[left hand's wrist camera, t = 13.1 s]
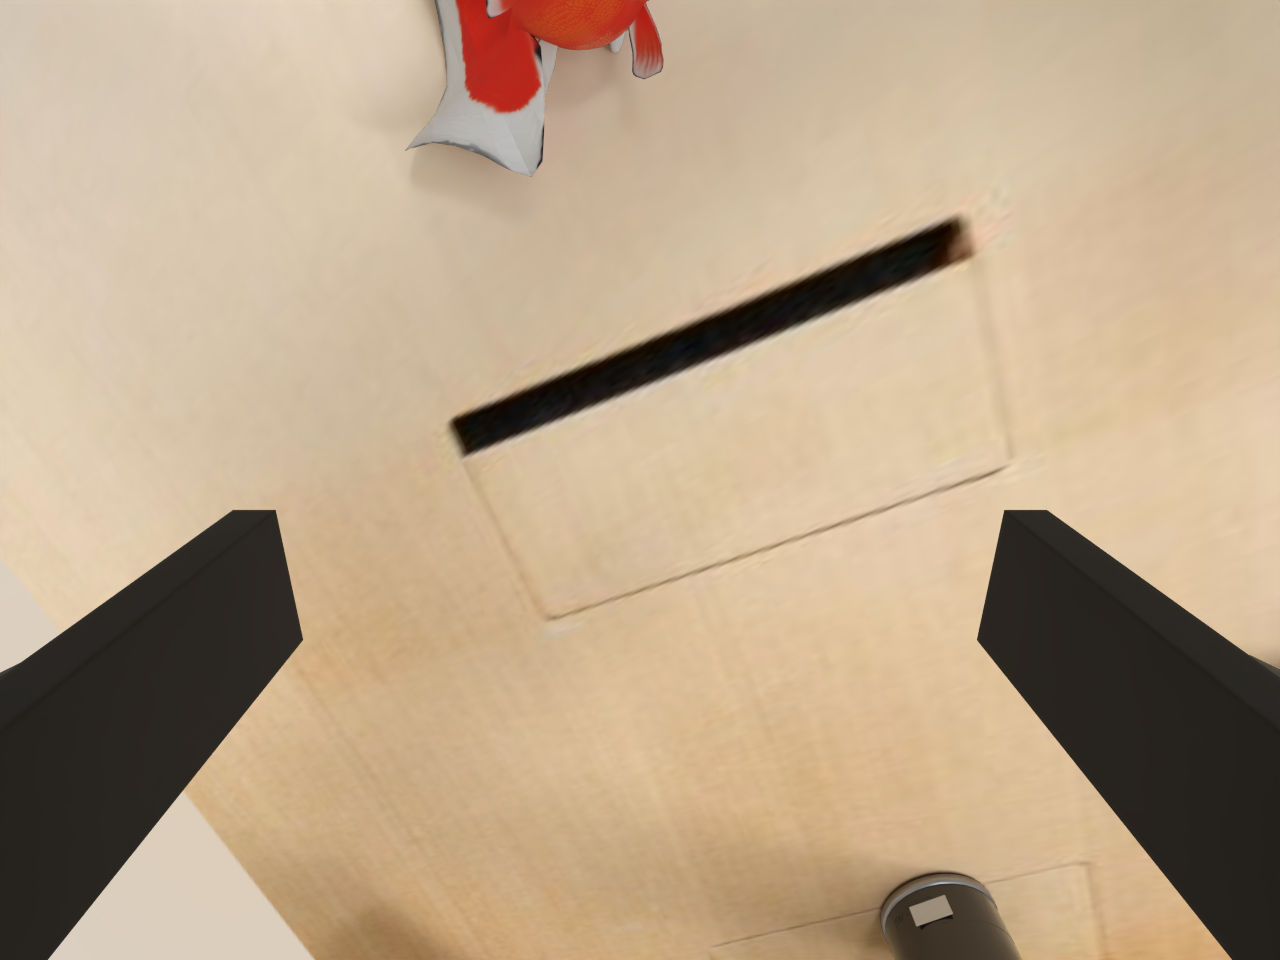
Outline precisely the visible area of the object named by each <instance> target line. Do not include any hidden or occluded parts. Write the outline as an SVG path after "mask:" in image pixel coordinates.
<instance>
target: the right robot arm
mask: <svg viewBox="0 0 1280 960" xmlns="http://www.w3.org/2000/svg"><path fill="white" fill-rule="evenodd" d="M880 921H881V927H882V930H883V933H884V936H885V938H886V940H887V942H888V944H889V946H890V949H891V952H892V955H893V958H894V960H1022V958H1021V956H1020V954H1019V952H1018V950H1017V948H1016V946H1015V944H1014V942H1013V940H1012V938H1011V936H1010V934H1009V932H1008V930H1007V928H1006V926H1005V924H1004V922H1003V920H1002V919H1001V917H1000V915H999V913H998V910H997V906H996V904H995V902H994V900H993V898H992V896H991V895H990V893H989V891H988V890H987V889H986V888H985V887H984V886H983V885H982V884H980V883H979V882H977V881H975V880H973V879H971V878H968V877H965V876H961V875H955V874H936V875H930V876H925V877H922V878H919V879H916V880H913V881H911V882H909V883H907V884H905V885H904V886H902V887H901V888H899V889H898V890H897V891H895V892H894V893H893V894H892V895H891V896H890V897H889V898H888V900H887V901H886V903H885V904H884V906H883V909H882V912H881V917H880Z"/></svg>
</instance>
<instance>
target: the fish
mask: <svg viewBox="0 0 1280 960" xmlns="http://www.w3.org/2000/svg"><path fill="white" fill-rule="evenodd" d="M646 1H648V0H435V4H436V8H437V13H438V18H439V24H440V29H441V34H442V40H443V45H444V51H445V63H446V75H447V87H446V90H445V92H444V95H443V97H442V100H441V102H440V104H439V107H438V109H437V111H436V113H435V115H434V116H433V118H432V119H431V121H430V122H429V123H428V125H427V126H426V127H425V128H424V129H423V130H422V131H421V132H420V133H419V134H418V135H417V136H416V138H415V139H414V140H413V141H412V143H411V144H410V145H409V147H408V148H407V149H406V150H408V149H410V148H414V147H418V146H421V145H425V144H429V143H439V144H447V145H454V146H458V147H460V148H463V149H466V150H469V151H472V152H475V153H478V154H481V155H483V156H485V157H487V158H489V159H490V160H492V161H494V162H496V163H498V164H499V165H501V166H503V167H505V168H507V169H509V170H512V171H515V172H518V173H521V174H524V175H527V176H530V177H532V175H533V174H534V172H535V171H536V169H537V168H538V167H539V165H540V164H541V162H542V158H543V138H544V110H545V102H544V95H546V93H547V89H548V86H549V83H550V80H551V77H552V74H553V70H554V66H555V60H556V54H557V50H558V47H562V48H565V49H570V50H586V49H594V48H599V47H602V46H605V45H607V44H609V46H610V48H611V50H612V52H613V53H617V52H618V51H619V50H620V48H621V46H622V43H623V40H624V37H625V33H626V30H627V29H629V36H630V41H631V47H632V52H633V67H632V71H633V74H634V75H635V76H636V77H639V78H642V79H646V78H648V77H651V76H653V75H655V74H657V73H659V72H661V70H662V68H663V55H662V48H661V40H660V37H659V34H658V31H657V28H656V26H655V23H654V21H653V19H652V16H651V14H650V12H649V10H648V8H647V5H646ZM535 37H536V38H538V39H539V40H538V42H537V40H536V39H535ZM406 150H405V151H406Z"/></svg>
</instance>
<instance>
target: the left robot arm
mask: <svg viewBox="0 0 1280 960" xmlns="http://www.w3.org/2000/svg"><path fill="white" fill-rule="evenodd" d="M302 641H303V637H302V633H301V628H300V623H299V618H298V614H297V609H296V604H295V600H294V595H293V590H292V585H291V581H290V576H289V571H288V566H287V562H286V557H285V552H284V548H283V543H282V538H281V533H280V529H279V524H278V519H277V514H276V510H233V511H231V512H230V513H228V514H227V515H226V516H224V517H223V518H221V519H220V520H219V521H217V522H216V523H214V524H213V525H212V526H210V527H209V528H207V529H206V530H205V531H203V532H202V533H201V534H199V535H198V536H196V537H195V538H194V539H192V540H191V541H189V542H188V543H187V544H185V545H184V546H182V547H181V548H180V549H178V550H177V551H175V552H174V553H173V554H171V555H170V556H169V557H167V558H166V559H164V560H163V561H162V562H160V563H159V564H157V565H156V566H155V567H153V568H152V569H150V570H149V571H148V572H146V573H145V574H143V575H142V576H141V577H139V578H138V579H137V580H135V581H134V582H132V583H131V584H130V585H128V586H127V587H125V588H124V589H123V590H121V591H120V592H118V593H117V594H116V595H114V596H113V597H111V598H110V599H109V600H107V601H106V602H105V603H103V604H102V605H100V606H99V607H98V608H96V609H95V610H93V611H92V612H91V613H89V614H88V615H86V616H85V617H84V618H82V619H81V620H79V621H78V622H77V623H75V624H74V625H72V626H71V627H70V628H68V629H67V630H66V631H64V632H63V633H61V634H60V635H59V636H57V637H56V638H54V639H53V640H52V641H50V642H49V643H47V644H46V645H45V646H43V647H42V648H40V649H39V650H38V651H36V652H35V653H34V654H32V655H31V656H29V657H28V658H27V659H25V660H24V661H22V662H21V663H19V664H17V665H15V666H13V667H11V668H9V669H7V670H5V671H3V672H1V673H0V960H48V959H49V958H50V956H51V955H52V954H53V953H54V951H55V950H56V949H57V948H58V946H59V945H60V944H61V942H62V941H63V940H64V939H65V937H66V936H67V935H68V934H69V932H70V931H71V930H72V929H73V927H74V926H75V925H76V924H77V922H78V921H79V920H80V919H81V917H82V916H83V915H84V914H85V912H86V911H87V910H88V909H89V907H90V906H91V905H92V904H93V902H94V901H95V900H96V899H97V897H98V896H99V895H100V894H101V892H102V891H103V890H104V889H105V887H106V886H107V885H108V884H109V882H110V881H111V880H112V879H113V877H114V876H115V875H116V874H117V872H118V871H119V870H120V869H121V867H122V866H123V865H124V864H125V862H126V861H127V860H128V858H129V857H130V856H131V855H132V854H133V852H134V851H135V850H136V849H137V847H138V846H139V845H140V843H141V842H142V841H143V840H144V838H145V837H146V836H147V835H148V833H149V832H150V831H151V830H152V828H153V827H154V826H155V825H156V823H157V822H158V821H159V820H160V818H161V817H162V816H163V815H164V813H165V812H166V811H167V810H168V808H169V807H170V806H171V805H172V803H173V802H174V801H175V800H176V798H177V797H178V796H179V795H180V793H181V792H182V791H183V790H184V788H185V787H186V786H187V785H188V783H189V782H190V781H191V780H192V778H193V777H194V776H195V775H196V773H197V772H198V771H199V770H200V768H201V767H202V766H203V765H204V763H205V762H206V761H207V760H208V758H209V757H210V756H211V755H212V753H213V752H214V751H215V750H216V748H217V747H218V746H219V745H220V743H221V742H222V741H223V740H224V738H225V737H226V736H227V735H228V733H229V732H230V731H231V730H232V728H233V727H234V726H235V724H236V723H237V722H238V721H239V719H240V718H241V717H242V716H243V714H244V713H245V712H246V711H247V709H248V708H249V707H250V706H251V704H252V703H253V702H254V701H255V699H256V698H257V697H258V696H259V694H260V693H261V692H262V691H263V689H264V688H265V687H266V686H267V684H268V683H269V682H270V681H271V679H272V678H273V677H274V676H275V674H276V673H277V672H278V671H279V669H280V668H281V667H282V666H283V664H284V663H285V662H286V661H287V659H288V658H289V657H290V656H291V654H292V653H293V652H294V651H295V649H296V648H297V647H298V646H299V644H300V643H301V642H302ZM977 641H978V642H979V643H980V644H981V646H982V647H983V648H984V649H985V651H986V652H987V653H988V654H989V656H990V657H991V658H992V659H993V661H994V662H995V663H996V664H997V666H998V667H999V668H1000V669H1001V671H1002V672H1003V673H1004V674H1005V676H1006V677H1007V678H1008V679H1009V681H1010V682H1011V683H1012V684H1013V686H1014V687H1015V688H1016V689H1017V691H1018V692H1019V693H1020V694H1021V696H1022V697H1023V698H1024V699H1025V701H1026V702H1027V703H1028V704H1029V706H1030V707H1031V708H1032V709H1033V711H1034V712H1035V713H1036V714H1037V716H1038V717H1039V718H1040V719H1041V721H1042V722H1043V723H1044V724H1045V726H1046V727H1047V728H1048V730H1049V731H1050V732H1051V733H1052V735H1053V736H1054V737H1055V738H1056V740H1057V741H1058V742H1059V743H1060V745H1061V746H1062V747H1063V748H1064V750H1065V751H1066V752H1067V753H1068V755H1069V756H1070V757H1071V758H1072V760H1073V761H1074V762H1075V763H1076V765H1077V766H1078V767H1079V768H1080V770H1081V771H1082V772H1083V773H1084V775H1085V776H1086V777H1087V778H1088V780H1089V781H1090V782H1091V783H1092V785H1093V786H1094V787H1095V788H1096V790H1097V791H1098V792H1099V793H1100V795H1101V796H1102V797H1103V798H1104V800H1105V801H1106V802H1107V803H1108V805H1109V806H1110V807H1111V808H1112V810H1113V811H1114V812H1115V813H1116V815H1117V816H1118V817H1119V818H1120V820H1121V821H1122V822H1123V823H1124V825H1125V826H1126V827H1127V828H1128V830H1129V831H1130V832H1131V833H1132V835H1133V836H1134V837H1135V839H1136V840H1137V841H1138V842H1139V844H1140V845H1141V846H1142V847H1143V849H1144V850H1145V851H1146V852H1147V854H1148V855H1149V856H1150V857H1151V859H1152V860H1153V861H1154V862H1155V864H1156V865H1157V866H1158V867H1159V869H1160V870H1161V871H1162V872H1163V874H1164V875H1165V876H1166V877H1167V879H1168V880H1169V881H1170V882H1171V884H1172V885H1173V886H1174V887H1175V889H1176V890H1177V891H1178V892H1179V894H1180V895H1181V896H1182V897H1183V899H1184V900H1185V901H1186V902H1187V904H1188V905H1189V906H1190V907H1191V909H1192V910H1193V911H1194V912H1195V914H1196V915H1197V916H1198V917H1199V919H1200V920H1201V921H1202V922H1203V924H1204V925H1205V926H1206V927H1207V929H1208V930H1209V931H1210V932H1211V934H1212V935H1213V936H1214V937H1215V939H1216V940H1217V941H1218V942H1219V944H1220V945H1221V946H1222V948H1223V949H1224V950H1225V951H1226V953H1227V954H1228V955H1229V956H1230V958H1231V959H1232V960H1280V669H1278V668H1275V667H1273V666H1271V665H1269V664H1267V663H1265V662H1263V661H1261V660H1259V659H1257V658H1255V657H1253V656H1251V655H1248V654H1246V653H1245V652H1244V651H1242V650H1241V649H1240V648H1238V647H1237V646H1235V645H1234V644H1233V643H1231V642H1230V641H1228V640H1227V639H1226V638H1224V637H1223V636H1221V635H1220V634H1219V633H1217V632H1216V631H1214V630H1213V629H1212V628H1210V627H1209V626H1208V625H1206V624H1205V623H1203V622H1202V621H1201V620H1199V619H1198V618H1196V617H1195V616H1194V615H1192V614H1191V613H1189V612H1188V611H1187V610H1185V609H1184V608H1182V607H1181V606H1180V605H1178V604H1177V603H1175V602H1174V601H1173V600H1171V599H1170V598H1169V597H1167V596H1166V595H1164V594H1163V593H1162V592H1160V591H1159V590H1157V589H1156V588H1155V587H1153V586H1152V585H1150V584H1149V583H1148V582H1146V581H1145V580H1143V579H1142V578H1141V577H1139V576H1138V575H1137V574H1135V573H1134V572H1132V571H1131V570H1130V569H1128V568H1127V567H1125V566H1124V565H1123V564H1121V563H1120V562H1118V561H1117V560H1116V559H1114V558H1113V557H1111V556H1110V555H1109V554H1107V553H1106V552H1105V551H1103V550H1102V549H1100V548H1099V547H1098V546H1096V545H1095V544H1093V543H1092V542H1091V541H1089V540H1088V539H1086V538H1085V537H1084V536H1082V535H1081V534H1079V533H1078V532H1077V531H1075V530H1074V529H1073V528H1071V527H1070V526H1068V525H1067V524H1066V523H1064V522H1063V521H1061V520H1060V519H1059V518H1057V517H1056V516H1054V515H1053V514H1052V513H1050V512H1049V511H1047V510H1004V514H1003V519H1002V524H1001V529H1000V533H999V538H998V543H997V548H996V552H995V557H994V562H993V566H992V571H991V576H990V581H989V585H988V590H987V595H986V600H985V604H984V609H983V614H982V618H981V623H980V628H979V633H978V637H977Z"/></svg>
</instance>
